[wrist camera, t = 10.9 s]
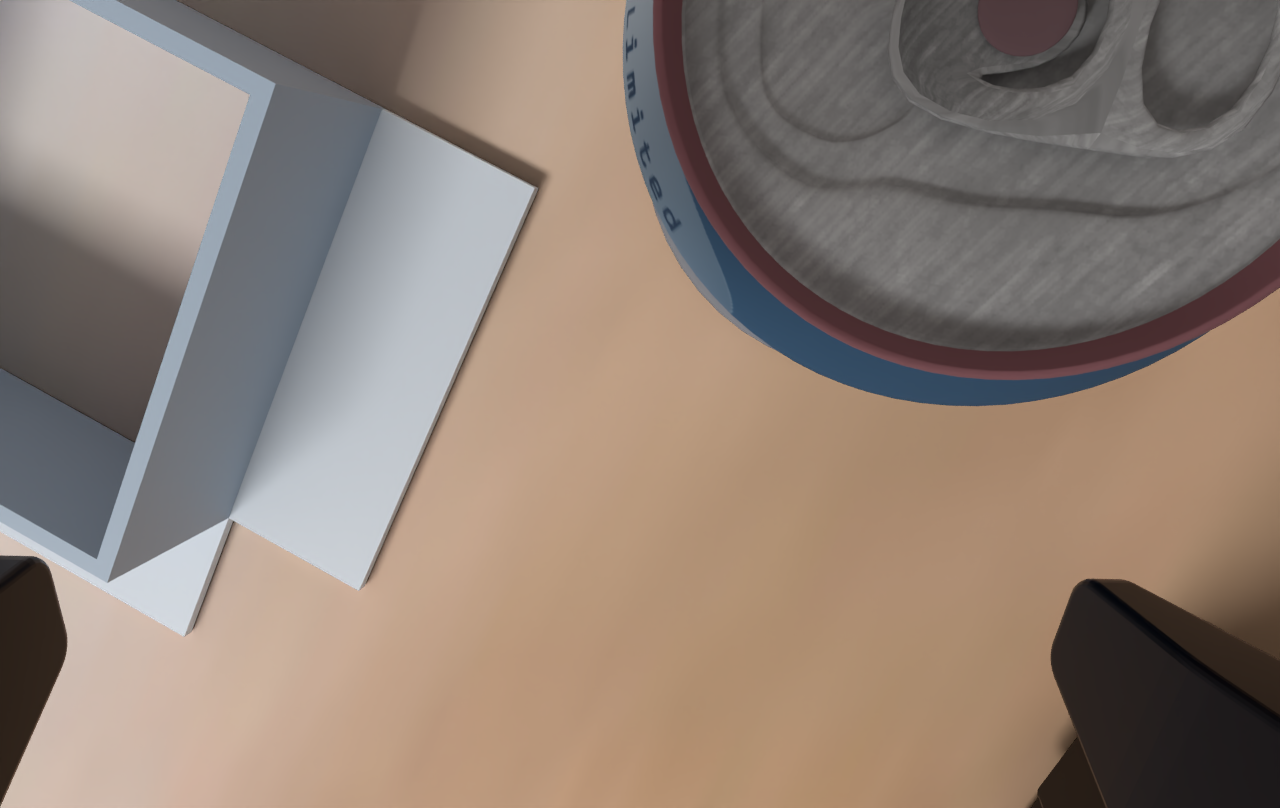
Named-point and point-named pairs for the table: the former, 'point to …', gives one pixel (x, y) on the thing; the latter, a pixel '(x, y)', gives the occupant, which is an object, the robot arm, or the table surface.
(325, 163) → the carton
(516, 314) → the table surface
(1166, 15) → the soda can
